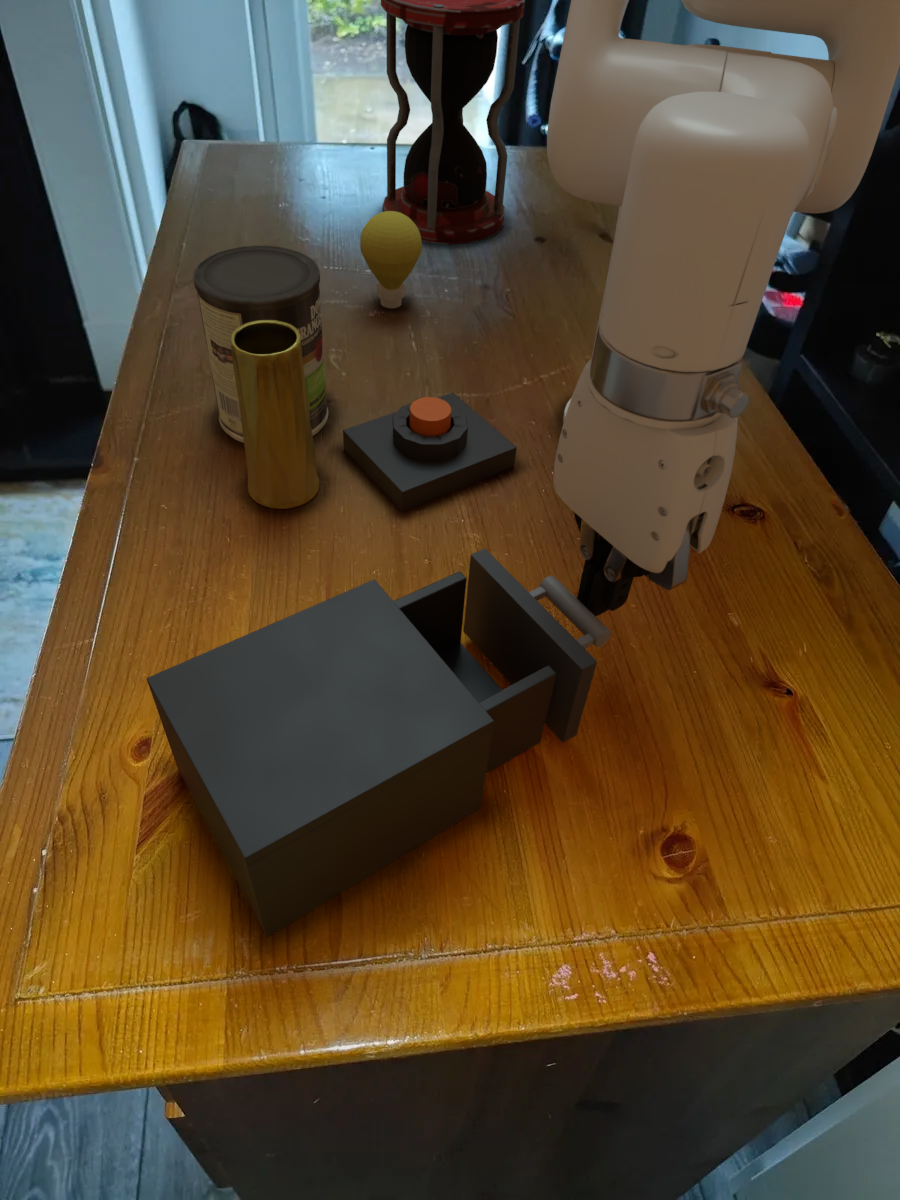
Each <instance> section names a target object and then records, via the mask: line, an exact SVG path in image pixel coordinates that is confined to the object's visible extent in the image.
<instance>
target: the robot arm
mask: <svg viewBox="0 0 900 1200" xmlns="http://www.w3.org/2000/svg"><path fill="white" fill-rule="evenodd" d="M680 1H681V3H682V4H683V7H684V8H685V9H686V10H687V12H689V13H690V14H691V15H693V16H696V17H698V18H700V19H701V20H705V21H708V22H711V23H712V22H713V23H716V24H721V25H725V26H726V25H727V26H732V27H738V28H746V29H753V30H761V31H769V32H777V33H784V34H785V33H787V34H793V35H804V36H811V37H816V38H818V39H820V40H822V41H823V43H824V45H825V46H826V49H827V50H826V51H827V54H828V59H822V58H814V57H807V56H806V57H805V56H798V55H791V54H782V53H774V52H771V51H766V50H758V49H752V48H751V49H749V48H741V47H735V46H726V45H725V46H724V45H718V44H703V43H694V44H678V43H677V44H676V43H668V42H661V41H655V40H645V39H633V38H623V37H621V36H620V31H621V27H622V22H623V19H624V16H625V13H626V10H627V8H628V4H629V2H630V0H570V4H569V9H568V15H567V19H566V24H565V28H564V33H563V39H562V44H561V49H560V54H559V58H558V63H557V65H558V66H557V69H556V74H555V79H554V84H553V90H552V96H551V101H550V106H549V113H548V123H547V133H546V154H547V162H548V166H549V171H550V172H551V174H552V176H553V179H554V181H555V182H556V184H558V186H559V187H560V188H561V189H562V190H563V191H564V192H566V193H567V194H569V195H571V196H572V197H574V198H578V199H580V200H583V201H588V202H591V203H592V202H593V203H598V204H602V205H603V204H604V205H609V206H615V207H618V213H617V219H616V225H615V231H614V238H613V243H612V248H611V253H610V258H609V263H608V269H607V275H606V280H605V281H606V282H605V286H604V291H603V295H602V301H601V306H600V311H599V317H598V322H597V326H596V332H595V337H594V342H593V347H592V352H591V357H590V359H589V360H588V361H587V362H586V363H585V365H584V367H583V368H582V371H581V373H580V375H579V378H578V380H577V383H576V384H575V387H574V390H573V392H572V395H571V398H569V399H568V401H567V402H566V404H565V406H564V411H563V417H562V427H561V431H560V436H559V439H558V443H557V448H556V453H555V458H554V465H553V475H552V476H553V477H552V479H553V480H552V482H553V488H554V491H555V493H556V495H557V496H558V497H559V499H560V500H561V501H562V502H563V503H564V505H565V506H566V507H567V509H568V510H569V511H570V512H571V513H572V514H573V515H574V520H575V523H576V525H577V528H578V531H579V543H578V544H579V545H578V549H579V550H578V551H579V553H580V555H581V557H582V558H583V559H584V564H583V568H582V573H581V576H580V583H579V587H578V591H577V596H576V598H577V599H578V600H579V601H580V602H581V603H582V604H583V605H584V606H585V607H586V608H587V609H588V610H589V611H591V612H592V613H593V614H594V615H595V616H596V617H598V616H600V615H602V614H604V613H606V612H607V611H611V612H614V611H616V610H619V609H620V608H621V607H623V605H625V604H626V602H627V601H628V598H629V595H630V591H631V588H632V585H633V582H634V578H641V577H644V576H645V577H646V578H648V580H649V581H651V582H652V583H654V584H656V585H658V586H659V587H661V588H662V589H664V590H666V591H672V590H674V589H675V588H677V587H679V586H681V585H683V584H685V583H686V582H687V581H688V574H689V573H688V571H689V563H690V551H691V550H693V551H694V552H695V553H696V554H697V555H699V554H701V553H702V552H704V551H705V550H707V549H708V548H709V547H710V545H711V543H712V541H713V538H714V535H715V534H716V530H717V526H718V523H719V520H720V517H721V514H722V511H723V507H724V504H725V500H726V496H727V493H728V488H729V485H730V480H731V476H732V472H733V466H734V460H735V454H736V449H737V448H736V446H737V440H738V425H739V422H738V421H739V416H741V414H742V413H744V411H745V410H746V409H747V407H748V405H749V402H750V395H749V394H748V393H746V392H745V391H743V390H742V389H741V386H740V385H739V384H738V383H737V382H738V380H739V377H740V374H741V370H742V368H743V365H744V363H743V362H742V361H743V358H744V355H745V353H746V349H747V346H748V343H749V341H750V337H751V334H752V332H753V329H754V326H755V322H756V320H757V318H758V314H759V311H760V308H761V306H762V302H763V299H764V296H765V294H766V291H767V288H768V284H769V282H770V278H771V277H772V272H773V270H774V268H775V264H776V261H777V258H778V255H779V253H780V249H781V246H782V244H783V241H784V237H785V236H786V235H785V234H786V233H787V230H788V226H789V223H790V220H791V218H792V216H793V214H794V212H795V213H803V214H824V213H829V212H832V211H835V210H837V209H839V208H841V207H842V206H843V205H844V204H846V202H847V201H849V200H850V198H851V197H852V196H853V194H854V193H855V192H856V190H857V188H858V187H859V185H860V183H861V181H862V179H863V177H864V174H865V173H866V170H867V167H868V165H869V162H870V160H871V157H872V154H873V152H874V149H875V146H876V142H877V140H878V137H879V133H880V131H881V127H882V124H883V122H884V121H883V120H884V117H885V114H886V111H887V107H888V104H889V102H890V98H891V96H892V91H893V88H894V85H895V83H896V79H897V76H898V72H899V68H900V0H680ZM690 549H691V550H690Z"/></svg>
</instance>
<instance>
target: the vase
mask: <svg viewBox="0 0 900 1200" xmlns="http://www.w3.org/2000/svg"><path fill="white" fill-rule="evenodd" d="M231 352H232V360H233V366H234V373H235V380H236V387H237V393H238V398H239V405H240V414H241V422H242V430H243V439H244V443H243V445H244V453H245V460H246V466H247V467H246V468H247V492H248V494H249V496H250V498H251V499H252V500H253V501H254V502H255V503H257V504H259V505H261V506H263V507H266V508H269V509H273V510H275V509H276V510H285V509H286V510H288V509H294V508H298V507H301V506H303V505H305V504H307V503H309V502H310V501H311V500H313V499H314V498H315V496H316V495H317V493H318V492H319V490H320V489H319V488H320V477H319V475H318V472H317V471H318V470H317V459H316V457H317V456H316V449H315V442H314V436H313V435H312V429H311V423H310V413H309V406H308V398H307V392H306V385H305V377H304V369H303V359H302V347H301V334H300V332H299V331H298V330H297V329H296V328H295V327H294V326H292V325H291V324H288V323H285V322H281V321H276V320H257V321H252V322H248V323H246V324H243V325H241V326H240V327H238V328H237V329H235V330H234V332H233V333H232V335H231Z"/></svg>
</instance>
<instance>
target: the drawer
mask: <svg viewBox="0 0 900 1200" xmlns="http://www.w3.org/2000/svg"><path fill="white" fill-rule="evenodd" d="M469 557H470V559H469V569H468V579H467V577H466V575H464V573H462V571H460V570H459V571H457V572H455V573H453V574H449V575H448V576H446V577H444V578H442V579H439V580H437V581H435V582H433V583H429V584H428V585H426V586H424V587H421V588H419V589H417V590H415V591H413V592H410V593H408V594H406V595H403V596H401V597H399V598H397V599H395V600H393V602H394V603H395V604H396V605H397V606H398V607H399V609H400V610H401V611H402V612H403V613H404V615H405V616H406V617H407V618H408V619H409V621H410V622H411V623H412V624H413V625H414V626H415V628H416V629H417V630H418V631H419V632H420V634H421V635H422V636H423V637H424V638H425V639H426V641H427V642H428V643H429V644H430V645H431V647H432V648H433V649H434V650H435V651H436V652H437V654H438V655H439V656H440V657H441V658H442V660H443V661H444V662H445V663H446V664H447V666H448V667H449V668H450V669H451V670H452V671H453V673H454V674H455V675H456V676H457V677H458V679H459V680H460V681H461V682H462V683H463V684H464V686H465V687H466V688H467V689H468V690H469V692H470V693H471V694H472V695H473V696H474V698H475V699H476V700H477V701H478V702H479V703H480V705H481V706H482V707H483V708H484V709H485V711H486V712H487V713H488V714H489V715H490V716H491V718H492V719H493V720H494V725H493V732H492V738H491V745H490V751H489V758H488V764H487V771H486V775H487V774H489V773H491V772H492V771H494V770H496V769H498V768H499V767H501V766H503V765H504V764H506V763H508V762H510V761H512V760H513V759H515V758H517V757H519V756H520V755H522V754H523V753H526V752H527V751H529V750H531V749H533V747H536V746H538V745H539V744H541V743H542V739H543V733H544V729H545V725H546V727H548V729H549V730H550V731H551V732H552V733H553V734H554V735H555V737H556V738H557V739H558V740H559V741H560V742H561V743H562V744H564V743H566V742H568V741H569V740H571V739H572V738H574V737H576V736H577V735H578V731H579V728H580V724H581V721H582V717H583V713H584V710H585V707H586V704H587V699H588V695H589V692H590V689H591V685H592V681H593V679H594V675H595V671H596V668H597V664H598V660H596V658H595V657H593V655H592V654H590V652H589V651H588V650H586V649H588V648H589V647H591V646H593V645H594V647H596V648H600V647H603V646H604V645H605V644H607V642H609V640H611V637H612V634H613V633H612V631H611V630H610V629H609V628H608V626H606V625H605V623H603V622H602V620H600V619H599V618H598V616H595V615H594V614H593V613H592V612H591V611H589V610H588V609H587V608H586V607H585V606H584V605H583V604H582V603H581V602H580V601H579V600H578V599H577V596H576V595H574V594H573V593H572V592H571V591H570V590H569V589H568V588H567V587H566V586H565V585H563V583H562V582H561V581H560V580H558V579H557V577H556V576H554V575H548V576H546V577H545V578H543V579H542V581H541V582H540V584H539V586H538V587H537V588H535V589H532V590H530V591H528V590H527V589H526V587H524V586H523V585H522V583H520V582H519V580H517V579H516V578H515V576H513V575H512V574H511V573H510V572H509V570H508V569H506V568H505V567H504V566H503V565H502V564H501V562H499V560H498V559H497V558H496V557H494V555H492V553H490V551H488V550H487V548H483V549H480V550H478V551H476V552H473V553H471V554H470V556H469ZM466 589H467V590H466ZM466 592H467V593H466ZM543 598H546V599H547V600H549V602H551V604H552V605H554V607H555V608H556V609H557V610H558V611H559V612H560V613H562V615H563V616H565V618H567V620H569V622H570V623H571V624H572V625H574V627H576V628H577V630H578V631H580V632H581V634H582V635H583V636H580V637H579V638H577V639H576V638H575V637H574V636H573V635H572V634H571V633H570V632H569V631H568V630H567V629H566V628H565V627H564V626H563V625H562V624H561V623H560V622H559V621H558V620H557V619H556V618H555V617H554V616H553V615H552V614H551V613H550V612H549V611H548V610H547V609H546V608H545V606H543V605H542V604H541V602H539V601H540V600H542V599H543ZM465 599H466V601H465ZM464 609H465V612H464ZM463 621H464V622H463ZM462 630H463V631H462ZM462 633H464V634H465V635H466V636H467V638H468V639H469V640H470V641H471V642H472V643H473V644H474V646H475V647H476V648H478V650H479V651H480V652H481V653H482V654H483V655H484V657H485V658H486V659H487V660H488V661H489V662H490V663H491V664H492V666H493V667H494V668H495V669H496V670H497V671H498V672H499V674H500V675H501V676H502V677H503V678H504V679H505V680H506V682H507V683H508V684H510V685H509V686H506V687H505V688H503V689H502V688H501V686H499V684H498V682H496V681H495V680H494V678H492V677H491V675H490V674H489V673H488V672H487V671H486V670H485V668H484V667H483V666H482V665H481V663H479V661H477V659H476V658H475V657H474V656H473V654H471V652H470V651H469V650H468V649H467V648H466V647H465V646H464V645H463V643H462Z"/></svg>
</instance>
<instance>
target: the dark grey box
mask: <svg viewBox="0 0 900 1200" xmlns="http://www.w3.org/2000/svg"><path fill="white" fill-rule="evenodd" d="M393 601H394V600H393V599H392V598H391V597H390V596H389V594H388V593H387V592H386V591H385V589H383V587H382V586H381V585H380V583H379V582H378V581H377V580H376V579H371V580H370V581H367V582H365V583H362V584H360V585H357V586H356V587H353V588H350V589H349V590H346V591H344V592H341V593H340V594H337V595H335V596H332V597H331V598H328V599H325V600H324V601H321V602H319V603H317V604H313V605H312V606H310V607H307V608H305V609H303V610H300V611H298V612H296V613H293V614H291V615H288V616H286V617H284V618H282V619H279V620H277V621H275V622H273V623H270V624H268V625H266V626H264V627H261V628H259V629H256V630H254V631H251V632H249V633H247V634H245V635H242V636H240V637H238V638H236V639H234V640H231V641H229V642H227V643H224V644H222V645H219V646H217V647H215V648H213V649H211V650H208V651H206V652H203V653H201V654H199V655H197V656H196V655H195V656H193V657H192V658H190V659H187V660H185V661H183V662H181V663H178V664H176V665H173V666H171V667H168V668H166V669H164V670H162V671H160V672H158V673H155V674H153V675H150V676H148V677H146V681H147V684H148V687H149V691H150V693H151V696H152V699H153V701H154V705H155V707H156V710H157V713H158V716H159V719H160V722H161V725H162V727H163V731H164V733H165V736H166V739H167V742H168V745H169V748H170V750H171V754H172V756H173V759H174V762H175V765H176V767H177V770H178V773H179V775H180V777H181V779H182V781H183V782H184V784H185V786H186V788H187V790H188V792H189V793H190V795H191V797H192V799H193V801H194V803H195V805H196V807H197V809H198V811H199V812H200V814H201V817H202V818H203V820H204V822H205V824H206V826H207V828H208V830H209V831H210V833H211V835H212V837H213V839H214V841H215V843H216V845H217V846H218V849H219V850H220V852H221V854H222V856H223V858H224V860H225V861H226V864H227V865H228V868H229V869H230V871H231V873H232V875H233V877H234V879H235V881H236V882H237V884H238V887H239V888H240V890H241V892H242V894H243V896H244V897H245V899H246V901H247V903H248V905H249V907H250V909H251V911H252V913H253V914H254V916H255V918H256V920H257V922H258V924H259V926H260V928H261V929H262V931H263V933H264V935H265V937H266V938H269V937H270V936H273V935H274V934H275V933H277V932H279V931H281V930H282V929H284V928H285V927H287V926H289V925H290V924H292V923H294V922H295V921H297V920H298V919H300V918H302V917H303V916H305V915H307V914H309V913H310V912H312V911H314V910H315V909H317V908H318V907H320V906H322V905H324V904H325V903H327V902H329V901H330V900H332V899H333V898H335V897H338V896H339V895H341V894H342V893H343V892H345V891H347V890H349V889H350V888H352V887H353V886H355V885H357V884H359V883H360V882H362V881H363V880H365V879H367V878H368V877H370V876H372V875H374V874H376V872H377V873H378V871H380V870H382V869H383V868H386V866H389V865H391V864H392V863H393V862H396V861H397V860H399V859H400V858H403V856H405V855H407V854H408V853H410V852H412V851H414V850H415V849H417V848H419V847H420V846H422V845H423V844H425V843H427V842H429V841H430V840H432V839H433V838H435V837H437V836H438V835H440V834H441V833H444V832H445V831H446V830H448V829H450V828H451V827H453V826H455V825H457V824H458V823H460V822H461V821H463V820H465V819H467V818H469V817H470V816H472V815H473V814H475V813H476V812H478V811H480V810H481V808H482V802H483V797H484V789H485V782H486V777H487V774H486V771H487V764H488V758H489V751H490V745H491V738H492V732H493V725H494V720H493V719H492V718H491V716H490V715H489V714H488V713H487V712H486V711H485V709H484V708H483V707H482V706H481V705H480V703H479V702H478V701H477V700H476V699H475V698H474V696H473V695H472V694H471V693H470V692H469V690H468V689H467V688H466V687H465V686H464V684H463V683H462V682H461V681H460V680H459V679H458V677H457V676H456V675H455V674H454V673H453V671H452V670H451V669H450V668H449V667H448V666H447V664H446V663H445V662H444V661H443V660H442V658H441V657H440V656H439V655H438V654H437V652H436V651H435V650H434V649H433V648H432V647H431V645H430V644H429V643H428V642H427V641H426V639H425V638H424V637H423V636H422V635H421V634H420V632H419V631H418V630H417V629H416V628H415V626H414V625H413V624H412V623H411V622H410V621H409V619H408V618H407V617H406V616H405V615H404V613H403V612H402V611H401V610H400V609H399V607H398V606H397V605H396V604H395V603H394V602H393Z"/></svg>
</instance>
